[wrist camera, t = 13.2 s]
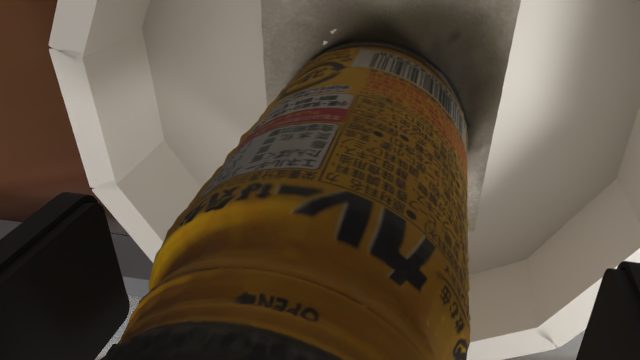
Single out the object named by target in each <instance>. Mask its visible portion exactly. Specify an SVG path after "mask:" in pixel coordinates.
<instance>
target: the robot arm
mask: <svg viewBox="0 0 640 360" xmlns="http://www.w3.org/2000/svg"><path fill="white" fill-rule="evenodd" d="M129 306H130V304H129V299H128V295H127V292H126V288H125V285H124V281H123V277H122V274H121V270H120V266H119V263H118V259H117V255H116V252H115V248H114V244H113V241H112V237H111V233H110V230H109V226H108V223H107V219H106V215H105V212H104V209H103V207H102V206H101V205H100V204H98V202H97V200H96V199H95V198H94V197H93V196H90V195H84V194H76V193H68V192H66V193H61V194H59V195H57V196H56V197H55V198H54V199H52V200H51V201H50V202H48V203H47V204H46V205H44V206H43V207H42V208H41V209H39V210H38V211H37V212H35V213H34V214H33V215H31V216H30V217H29V218H28V219H26V220H25V221H24V222H22V223H21V224H20V225H18V226H17V227H16V228H15V229H13V230H12V231H11V232H9V233H8V234H7V235H5V236H4V237H3V238H2V239H0V360H95V358H96V357H97V356H98V354H99V353H100V352H101V351H102V349H103V348H104V347H105V345H106V344H107V343H108V342H109V340H110V339H111V338H112V336H113V335H114V334H115V333H116V331H117V330H118V329H119V327H120V326H121V325H122V324H123V322H124V321H125V319H126V318H127V315H128V313H129ZM576 360H640V263H637V262H628V261H622V262H621V263H620V264H619V265H618V267H617V269H612V268H608V269H606V271H605V273H604V275H603V278H602V281H601V284H600V287H599V290H598V293H597V296H596V299H595V303H594V306H593V309H592V312H591V315H590V318H589V321H588V324H587V327H586V330H585V333H584V337H583V340H582V343H581V346H580V349H579V352H578V355H577V358H576Z"/></svg>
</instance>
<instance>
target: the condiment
mask: <svg viewBox="0 0 640 360" xmlns="http://www.w3.org/2000/svg"><path fill="white" fill-rule="evenodd" d="M520 3H521V0H261V12H262V19H261V21H262V22H261V24H262V36H263V60H264V70H265V87H266V99H267V108H266V110H265V112H264V113H263V114H262V115H261V116H260V118H259V120H258V121H257V122H256V123H255V124H254V125H253V126H252V127H251V128H250V129H249V130H248V131H247V132H246V133H244V134H243V135H242V136H241V138H240V141H239V144H238V146H237V147H236V148H234V149H233V150H232V151H231V152H230V153H229V154H228V155H227V157H226V159H225V162H224V164H223V165H222V166H220V167H219V168H218V169H217V170H216V171H215V173H214V174H213V175H212V177H211V178H210V179H209V180H208V181H207V182H206V183H205V184H204V185H203V186H202V188H201V189H200V190H199V192H198V193H197V194H196V196H195V198H194V199H193V200H192V201H191V202H190V204H189V205H188V208H186V209H185V210H184V211H183V212H182V213H181V214H180V215H179V216H178V217H177V219H176V221H175V222H174V224H173V225H172V227H171V228H170V229H169V230H168V231H167V234H166V237H165V240H164V242H163V244H162V246H161V248H160V249H159V251H158V252H157V253H156V256H155V259H154V263H153V267H152V272H151V276H150V280H149V284H148V286H149V293H147V294H146V295H145V296H144V297H143V298H142V299H141V300H140V302H139V304H138V306H137V308H136V309H135V311H134V312H133V313H132V315H131V317H130V320H129V323H128V325H127V327H126V329H125V332H124V334H123V335H122V338H121V340H120V341H119V343H118V344H113V345H112V346H111V348H110V349H109V351H108V352H107V354H106V356H104V357H103V358H102V359H100V360H467V351H468V348H469V345H470V320H471V317H470V313H469V294H468V293H469V290H470V286H469V279H470V278H469V268H468V262H469V255H468V231H471V232H474V227H475V223H476V217H477V212H478V207H479V202H480V197H481V192H482V186H483V182H484V177H485V172H486V167H487V161H488V157H489V152H490V147H491V143H492V137H493V132H494V128H495V123H496V119H497V113H498V109H499V105H500V100H501V96H502V89H503V84H504V79H505V74H506V70H507V66H508V60H509V54H510V50H511V46H512V40H513V35H514V30H515V26H516V21H517V16H518V12H519V8H520ZM334 29H336V31H335V32H334V33H333V34H332V33H331V32H330V31H333V30H334ZM324 41H327V42H328V43H326V44H325V45H323V42H324Z"/></svg>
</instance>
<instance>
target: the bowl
mask: <svg viewBox="0 0 640 360" xmlns="http://www.w3.org/2000/svg"><path fill="white" fill-rule="evenodd" d="M261 19H262V12H261V0H58V2H57V7H56V11H55V16H54V21H53V26H52V30H51V35H50V40H49V45H48V46H50V47H52V48H50V49H49V52H50V56H51V59H52V62H53V66H54V69H55V72H56V76H57V79H58V82H59V86H60V89H61V92H62V96H63V99H64V102H65V106H66V109H67V112H68V116H69V119H70V122H71V126H72V129H73V132H74V136H75V139H76V142H77V146H78V149H79V152H80V156H81V159H82V162H83V166H84V169H85V172H86V176H87V179H88V182H89V186H90V187H92V188H93V189H92V191H93V192H94V194H95V195H96V196H97V197H98V198H99V199H100V201H101V202H102V203H103V204H104V205H105V207H106V208H107V209H108V210H109V211H110V213H111V214H112V215H113V216H114V217H115V218H116V220H117V221H118V222H119V223H120V224H121V226H122V227H123V228H124V229H125V230H126V231H127V233H128V234H129V235H130V236H131V237H132V239H133V240H134V241H135V242H136V243H137V245H138V246H139V247H140V248H141V249H142V250H143V252H144V253H145V254H146V255H147V256H148V258H149V259H150V260H151V261H152V262H153V263H154V259H155V256H156V253H157V252H158V251H159V249H160V248H161V246H162V244H163V242H164V240H165V237H166V234H167V231H168V230H169V229H170V228H171V227H172V225H173V224H174V222H175V221H176V219H177V217H178V216H179V215H180V214H181V213H182V212H183V211H184V210H185V209H186V208H188V205H189V204H190V202H191V201H192V200H193V199H194V198H195V196H196V194H197V193H198V192H199V190H200V189H201V188H202V186H203V185H204V184H205V183H206V182H207V181H208V180H209V179H210V178H211V177H212V175H213V174H214V173H215V171H216V170H217V169H218V168H219V167H220V166H222V165H223V164H224V162H225V159H226V157H227V155H228V154H229V153H230V152H231V151H232V150H233V149H234V148H236V147H237V146H238V144H239V141H240V138H241V136H242V135H243V134H244V133H246V132H247V131H248V130H249V129H250V128H251V127H252V126H253V125H254V124H255V123H256V122H257V121H258V120H259V118H260V116H261V115H262V114H263V113H264V112H265V110H266V108H267V99H266V87H265V70H264V60H263V36H262V24H261V22H262V21H261ZM335 31H336V29H334V30H333V31H330V32H331V33H332V34H333V33H334V32H335ZM326 43H328V42H327V41H324V42H323V45H325V44H326ZM468 255H469V262H468V268H469V278H470V279H469V286H470V290H469V293H468V294H469V313H470V317H471V320H470V345H469V348H468V351H467V360H504V359H509V358H514V357H519V356H524V355H529V354H534V353H539V352H544V351H549V350H554V349H557V347H556V346H558V347H561V346H563V345H564V344H566V343H567V342H568V341H570V340H571V339H572V338H574V337H575V336H577V335H578V334H579V333H581V332H582V331H584V330H585V329H586V327H587V324H588V321H589V318H590V315H591V312H592V309H593V306H594V303H595V299H596V296H597V293H598V290H599V287H600V284H601V281H602V278H603V275H604V273H605V271H606V269H608V268H612V269H617V267H618V265H619V264H620V263H621V262H622V261H628V262H637V263H640V0H521V3H520V8H519V12H518V16H517V21H516V26H515V30H514V35H513V40H512V46H511V50H510V54H509V60H508V66H507V70H506V74H505V79H504V84H503V89H502V96H501V100H500V105H499V109H498V113H497V119H496V123H495V128H494V132H493V137H492V143H491V147H490V152H489V157H488V161H487V167H486V172H485V177H484V182H483V186H482V192H481V197H480V202H479V207H478V212H477V217H476V223H475V227H474V232H471V231H468Z"/></svg>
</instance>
